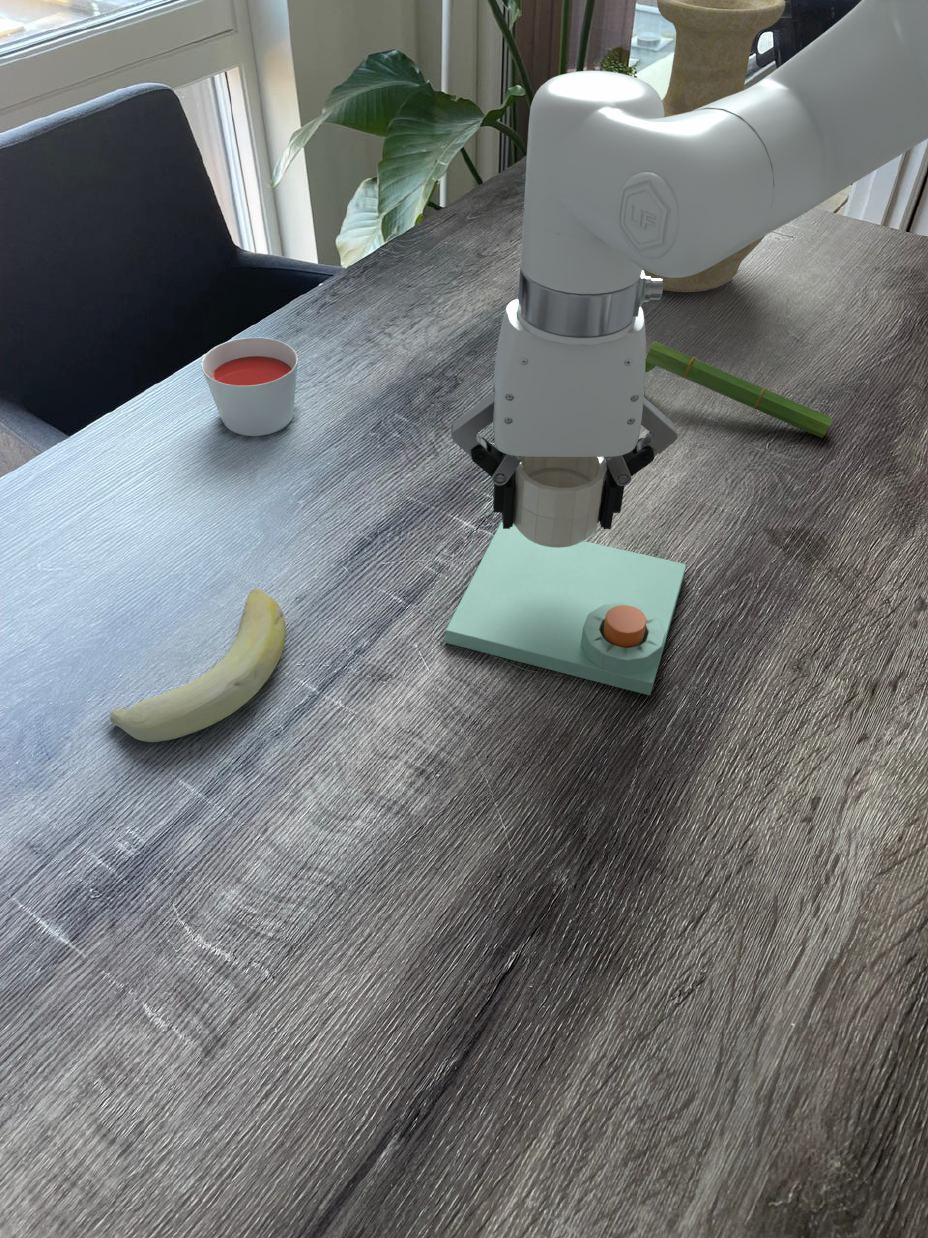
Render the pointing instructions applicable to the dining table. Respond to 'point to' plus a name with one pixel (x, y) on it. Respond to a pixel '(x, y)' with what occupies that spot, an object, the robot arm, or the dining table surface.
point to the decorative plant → (737, 389)
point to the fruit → (214, 680)
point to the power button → (624, 626)
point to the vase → (711, 83)
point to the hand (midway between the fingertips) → (555, 516)
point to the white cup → (559, 498)
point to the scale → (567, 608)
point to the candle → (252, 384)
